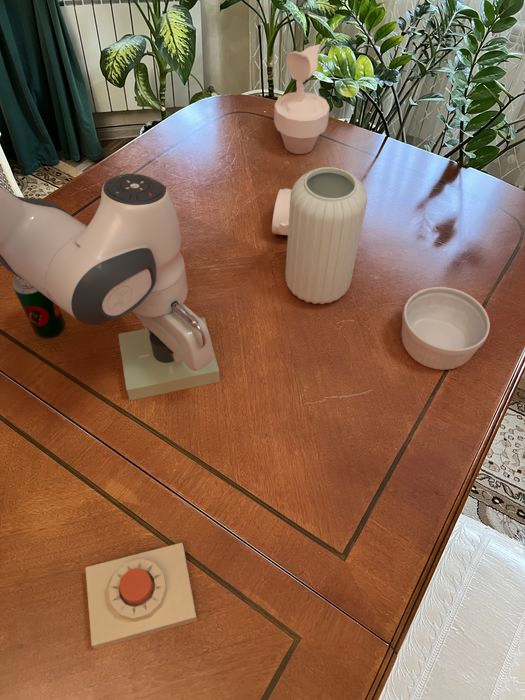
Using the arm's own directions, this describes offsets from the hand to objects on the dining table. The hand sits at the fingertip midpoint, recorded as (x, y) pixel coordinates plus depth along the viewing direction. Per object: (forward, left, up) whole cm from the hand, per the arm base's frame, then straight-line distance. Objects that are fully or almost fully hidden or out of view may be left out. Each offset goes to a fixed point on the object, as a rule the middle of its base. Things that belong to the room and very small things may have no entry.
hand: (166, 347), depth 88 cm
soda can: (-18, +12, -4) cm, 22 cm away
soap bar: (+30, +26, -4) cm, 40 cm away
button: (-9, -34, 0) cm, 35 cm away
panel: (0, 0, -4) cm, 4 cm away
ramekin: (+43, -7, -4) cm, 44 cm away
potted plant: (+38, +52, -4) cm, 65 cm away
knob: (0, 0, -1) cm, 1 cm away
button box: (-9, -34, -4) cm, 36 cm away
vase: (+28, +10, -4) cm, 30 cm away
